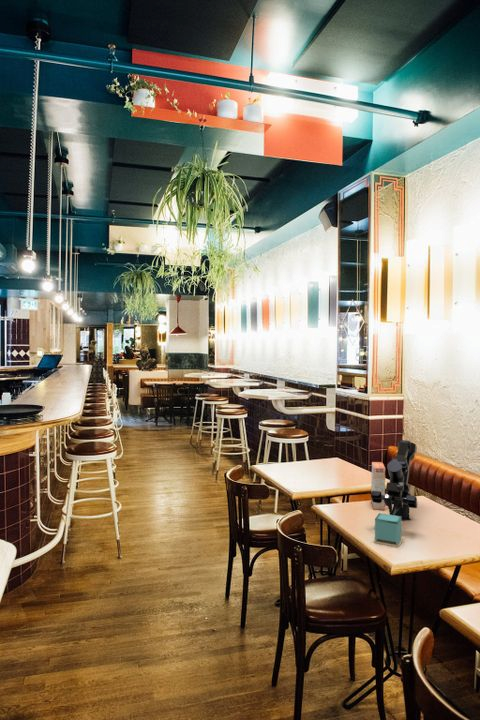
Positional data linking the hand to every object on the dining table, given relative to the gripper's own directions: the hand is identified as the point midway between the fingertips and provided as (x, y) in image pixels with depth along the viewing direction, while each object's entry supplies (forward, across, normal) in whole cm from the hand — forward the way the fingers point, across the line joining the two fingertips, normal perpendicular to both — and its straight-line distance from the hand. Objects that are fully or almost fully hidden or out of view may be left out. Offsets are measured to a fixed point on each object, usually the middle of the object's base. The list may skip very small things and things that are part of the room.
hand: (391, 517), depth 205 cm
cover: (+10, 0, +1) cm, 10 cm away
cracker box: (-23, -14, +34) cm, 43 cm away
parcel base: (+10, 0, +2) cm, 10 cm away
